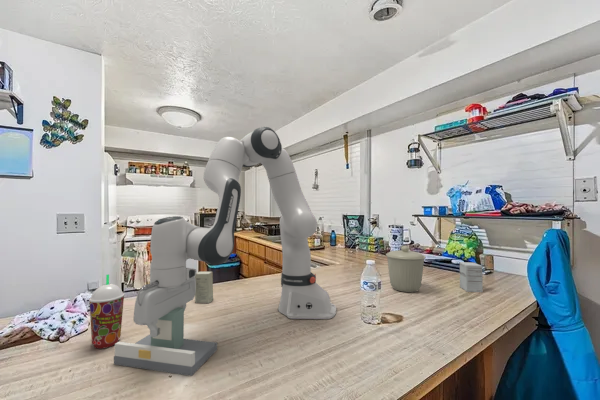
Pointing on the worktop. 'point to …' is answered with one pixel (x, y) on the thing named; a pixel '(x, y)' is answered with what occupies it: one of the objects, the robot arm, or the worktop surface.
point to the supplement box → (471, 277)
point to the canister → (405, 269)
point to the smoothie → (106, 314)
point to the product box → (170, 330)
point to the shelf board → (164, 355)
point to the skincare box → (204, 287)
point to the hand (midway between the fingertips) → (167, 327)
